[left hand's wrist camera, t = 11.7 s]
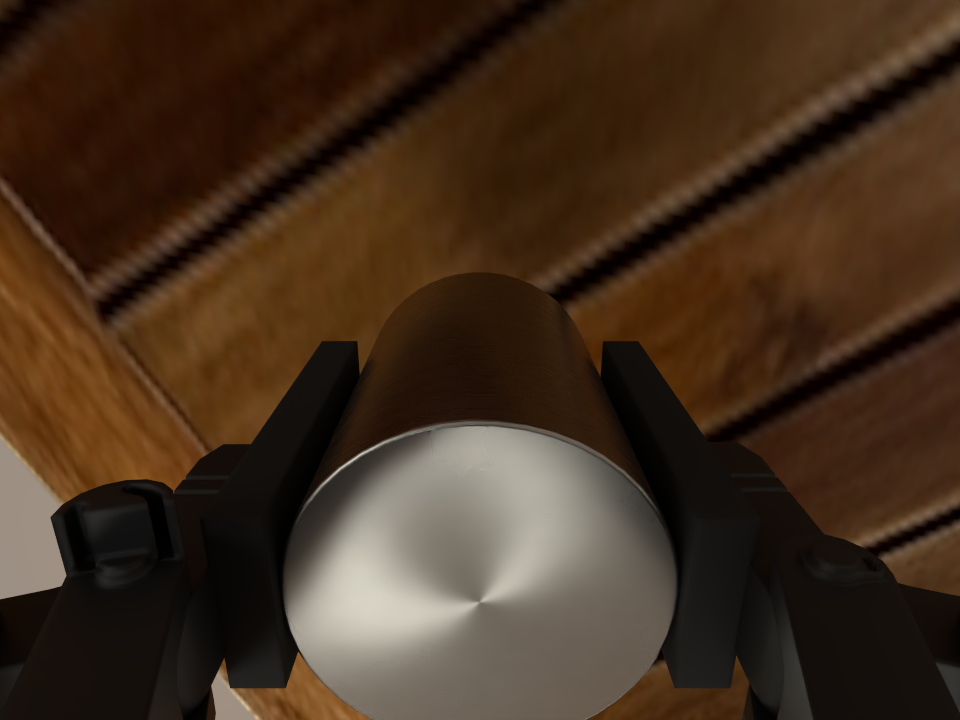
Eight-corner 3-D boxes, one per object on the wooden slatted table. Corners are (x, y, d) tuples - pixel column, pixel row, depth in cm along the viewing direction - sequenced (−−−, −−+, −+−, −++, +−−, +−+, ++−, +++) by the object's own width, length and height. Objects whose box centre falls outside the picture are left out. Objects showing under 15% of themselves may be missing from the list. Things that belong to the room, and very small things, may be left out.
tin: (368, 466, 17) (283, 735, 9) (373, 262, 15) (271, 405, 8) (573, 480, 17) (644, 757, 10) (603, 280, 15) (719, 438, 8)
